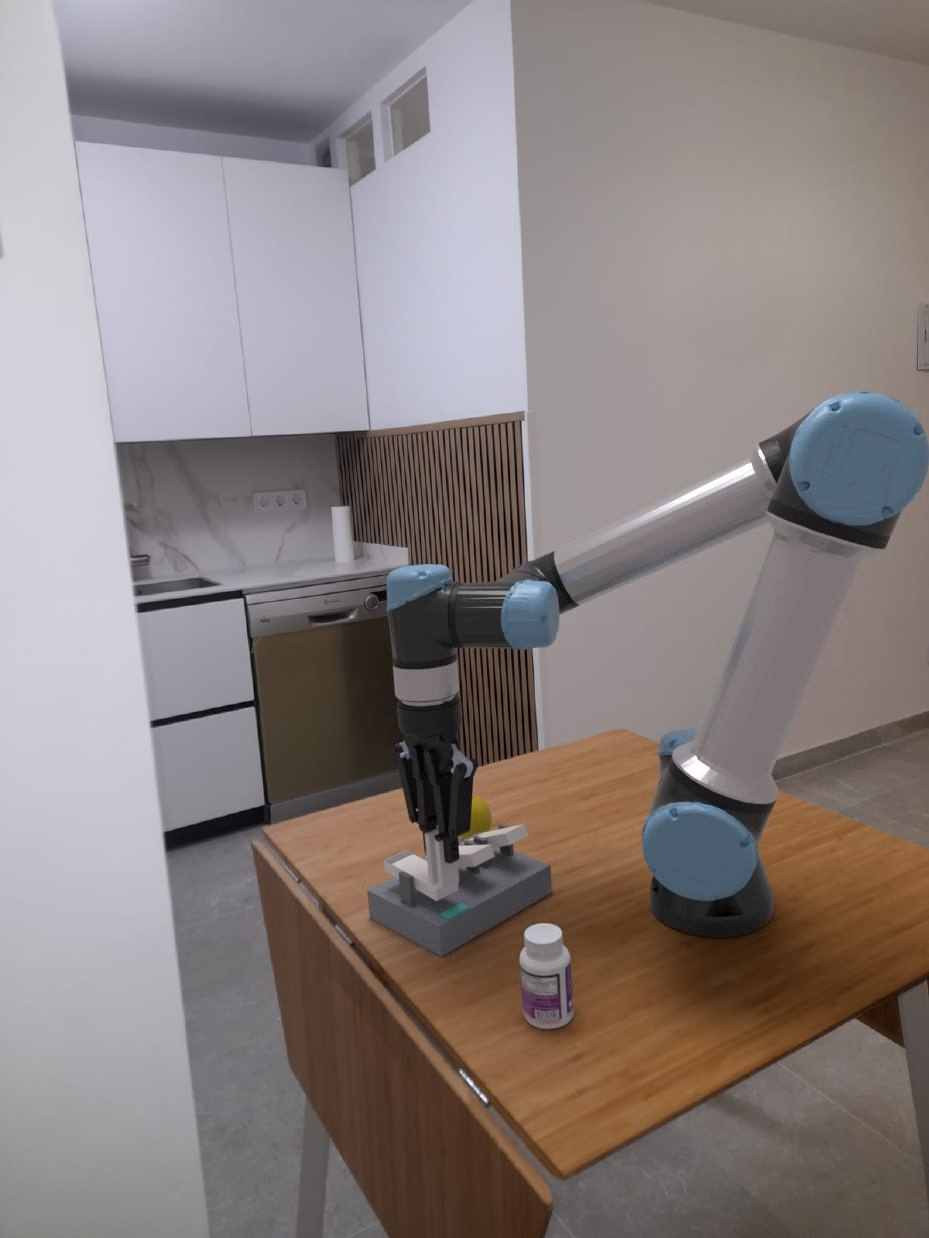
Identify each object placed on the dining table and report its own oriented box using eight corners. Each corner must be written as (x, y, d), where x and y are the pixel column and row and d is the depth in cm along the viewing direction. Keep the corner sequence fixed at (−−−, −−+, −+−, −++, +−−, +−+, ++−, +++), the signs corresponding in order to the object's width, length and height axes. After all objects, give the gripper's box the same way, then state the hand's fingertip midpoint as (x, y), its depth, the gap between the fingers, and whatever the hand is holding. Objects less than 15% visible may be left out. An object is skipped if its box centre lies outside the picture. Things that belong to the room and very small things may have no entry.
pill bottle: (546, 993, 100) (541, 913, 98) (584, 1013, 96) (579, 930, 94) (512, 1016, 96) (506, 934, 94) (550, 1038, 92) (545, 952, 91)
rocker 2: (495, 855, 116) (492, 843, 116) (473, 867, 114) (469, 854, 114) (447, 857, 124) (444, 845, 124) (425, 868, 121) (422, 855, 121)
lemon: (489, 852, 135) (486, 801, 133) (453, 851, 136) (449, 801, 135) (496, 836, 140) (492, 787, 139) (460, 835, 141) (457, 787, 140)
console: (552, 892, 122) (548, 837, 120) (441, 956, 108) (436, 895, 107) (479, 862, 132) (475, 811, 130) (369, 918, 119) (364, 861, 117)
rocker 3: (529, 834, 121) (524, 822, 121) (508, 845, 118) (504, 832, 118) (483, 843, 128) (479, 832, 128) (462, 854, 125) (458, 842, 126)
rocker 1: (459, 889, 113) (459, 876, 112) (435, 901, 110) (435, 889, 109) (407, 860, 120) (407, 848, 119) (383, 871, 117) (383, 859, 116)
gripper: (493, 698, 104) (506, 888, 109) (413, 681, 114) (429, 855, 119) (444, 714, 99) (461, 913, 104) (366, 695, 109) (384, 876, 114)
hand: (444, 882), depth 111 cm, fingers closed, pressing on rocker 1
